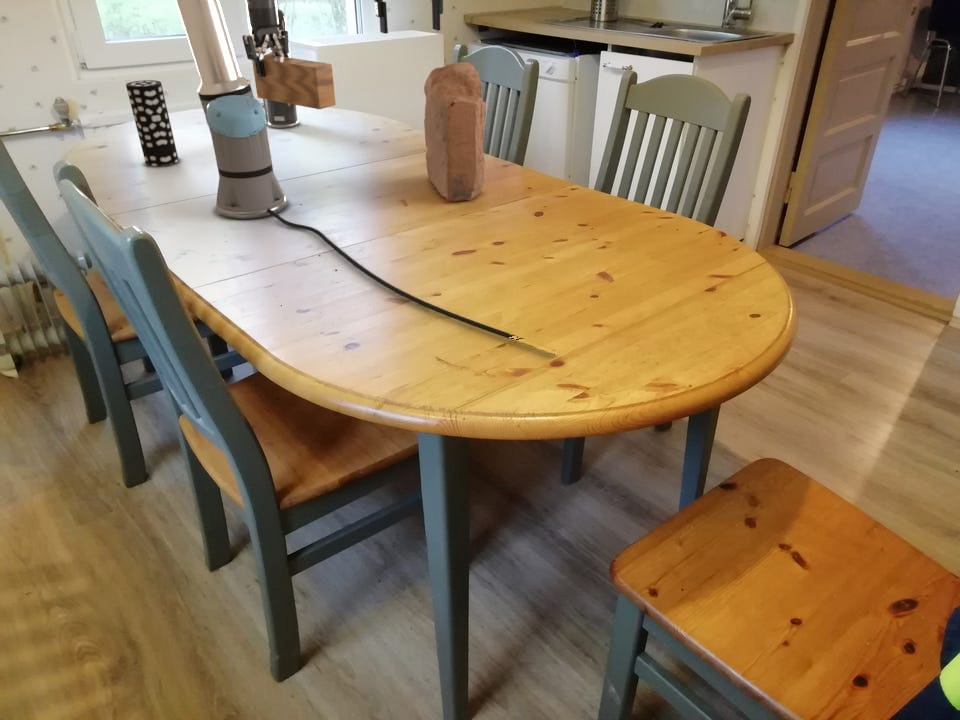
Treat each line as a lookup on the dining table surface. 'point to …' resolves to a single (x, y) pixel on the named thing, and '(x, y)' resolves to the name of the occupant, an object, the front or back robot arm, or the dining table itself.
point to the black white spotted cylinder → (152, 122)
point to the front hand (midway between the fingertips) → (410, 31)
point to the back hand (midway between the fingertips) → (271, 74)
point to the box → (296, 82)
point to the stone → (455, 131)
